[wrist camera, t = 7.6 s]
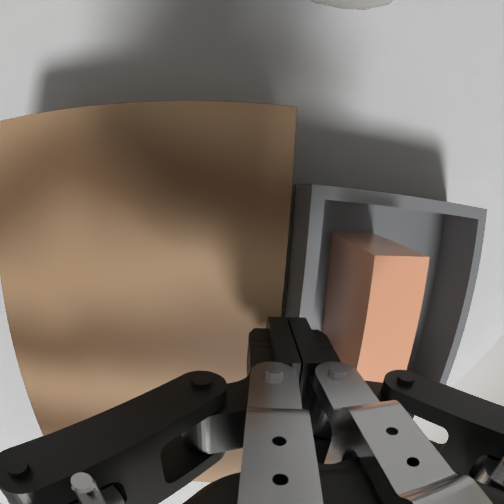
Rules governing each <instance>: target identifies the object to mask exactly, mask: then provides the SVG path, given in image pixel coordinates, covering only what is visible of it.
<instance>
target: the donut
mask: <svg viewBox="0 0 504 504" xmlns="http://www.w3.org/2000/svg"><path fill="white" fill-rule="evenodd" d="M311 1H313V2H316V3H320V4H324V5H328V6H332V7H336V8H342V9H358V10H365V9H370V8H375V7H380V6H384V5H388V4H389V3H391V2H393V1H394V0H311Z"/></svg>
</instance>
